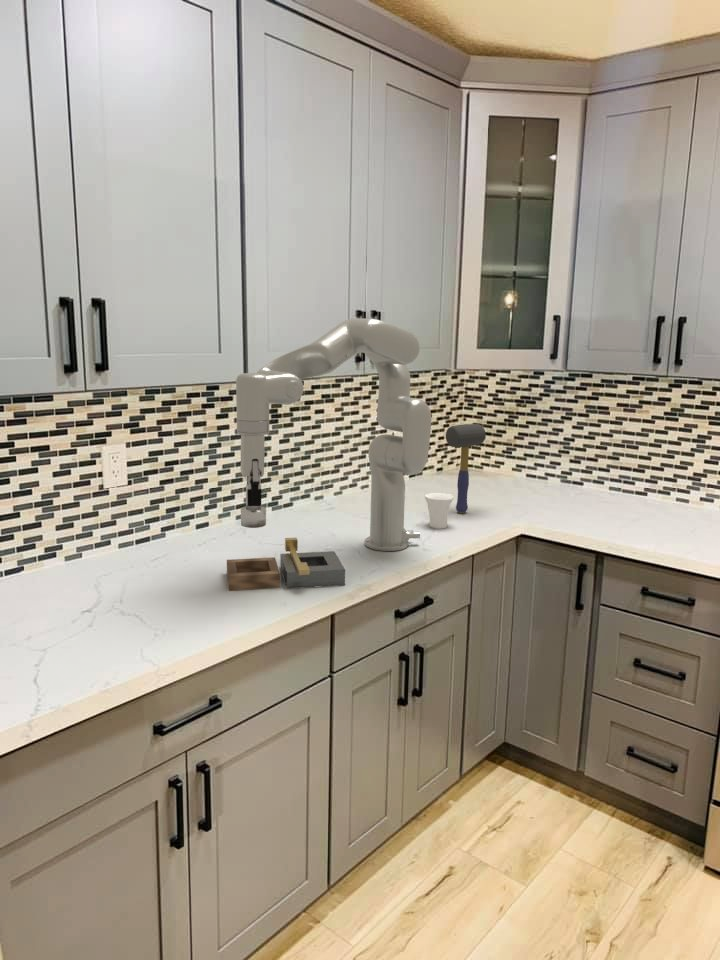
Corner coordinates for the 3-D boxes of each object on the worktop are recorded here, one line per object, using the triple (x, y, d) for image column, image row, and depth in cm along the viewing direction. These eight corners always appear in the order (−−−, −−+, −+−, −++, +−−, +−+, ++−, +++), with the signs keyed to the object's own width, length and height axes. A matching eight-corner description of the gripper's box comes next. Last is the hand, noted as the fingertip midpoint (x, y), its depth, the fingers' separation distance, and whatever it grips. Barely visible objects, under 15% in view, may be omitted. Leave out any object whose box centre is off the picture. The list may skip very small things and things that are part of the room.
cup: (457, 529, 220) (459, 497, 218) (429, 530, 218) (430, 499, 216) (447, 521, 229) (448, 491, 227) (419, 522, 227) (420, 492, 224)
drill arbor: (264, 520, 175) (265, 482, 173) (267, 527, 169) (267, 488, 167) (239, 521, 173) (239, 483, 171) (241, 528, 168) (241, 488, 165)
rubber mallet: (454, 517, 233) (459, 426, 227) (440, 512, 239) (444, 423, 233) (482, 512, 240) (488, 424, 233) (468, 507, 246) (472, 421, 240)
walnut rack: (274, 570, 181) (274, 557, 180) (280, 587, 170) (280, 573, 169) (226, 573, 179) (226, 559, 178) (229, 590, 167) (228, 576, 166)
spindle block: (334, 565, 186) (334, 551, 185) (345, 585, 172) (345, 569, 171) (280, 568, 182) (280, 553, 182) (287, 588, 169) (287, 572, 168)
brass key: (298, 548, 185) (298, 537, 184) (309, 574, 166) (309, 562, 166) (284, 549, 184) (284, 538, 184) (295, 575, 166) (295, 563, 165)
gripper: (234, 422, 173) (235, 495, 177) (239, 432, 157) (240, 513, 161) (265, 421, 175) (266, 494, 179) (273, 432, 159) (273, 511, 163)
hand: (253, 502), depth 170 cm, fingers closed on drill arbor, 3 cm apart
